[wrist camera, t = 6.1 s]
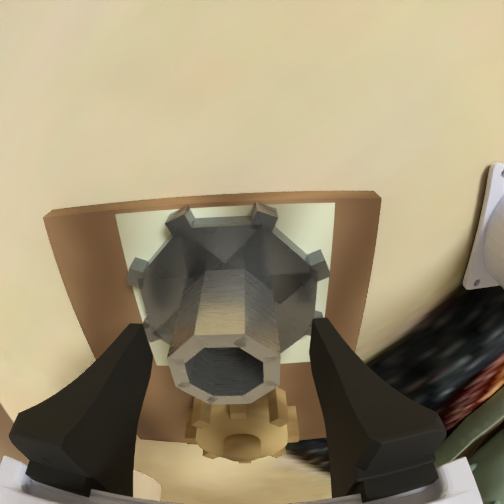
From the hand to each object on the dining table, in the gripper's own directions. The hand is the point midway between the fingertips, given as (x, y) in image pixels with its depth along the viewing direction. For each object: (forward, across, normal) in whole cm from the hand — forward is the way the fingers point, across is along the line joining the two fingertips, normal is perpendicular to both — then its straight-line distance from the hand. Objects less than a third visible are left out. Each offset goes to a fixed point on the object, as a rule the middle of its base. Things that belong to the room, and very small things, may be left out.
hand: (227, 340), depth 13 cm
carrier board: (+4, +1, +5) cm, 6 cm away
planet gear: (+3, 0, 0) cm, 3 cm away
